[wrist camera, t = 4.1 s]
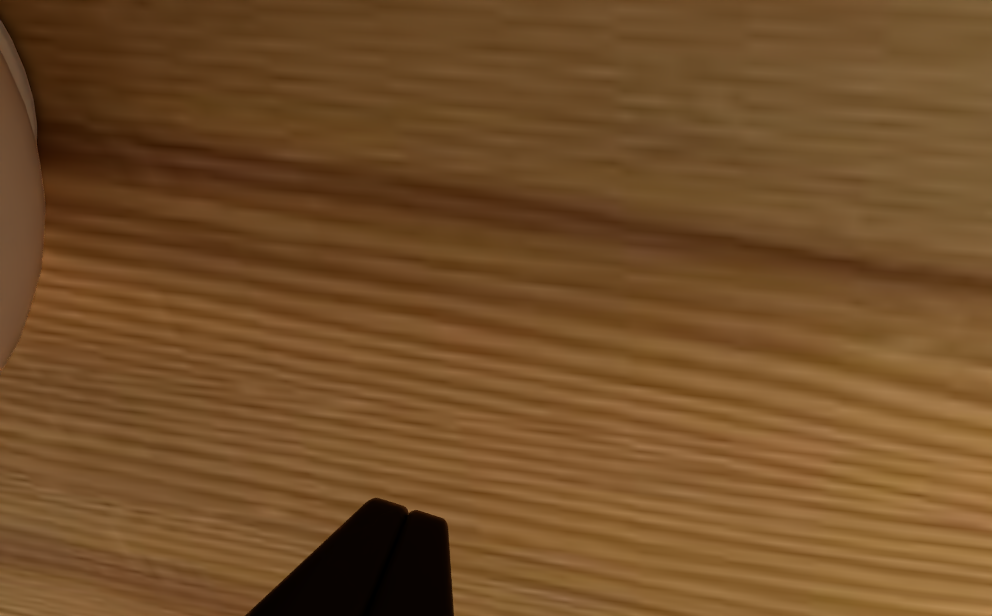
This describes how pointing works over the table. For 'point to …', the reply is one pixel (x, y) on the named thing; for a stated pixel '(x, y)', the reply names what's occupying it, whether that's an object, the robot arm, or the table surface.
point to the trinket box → (18, 199)
